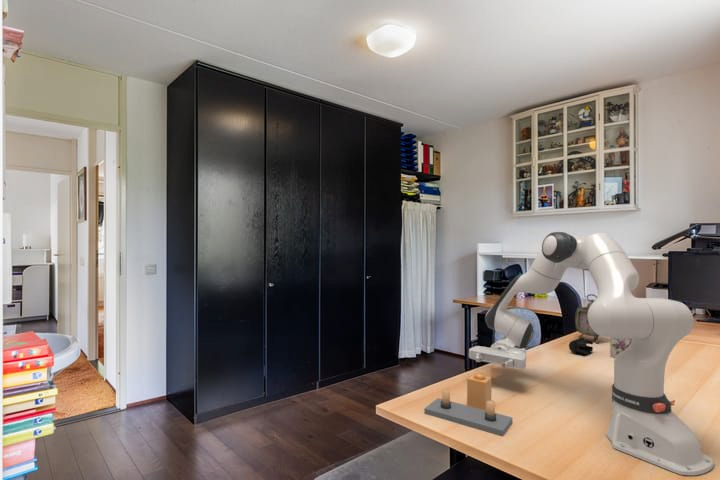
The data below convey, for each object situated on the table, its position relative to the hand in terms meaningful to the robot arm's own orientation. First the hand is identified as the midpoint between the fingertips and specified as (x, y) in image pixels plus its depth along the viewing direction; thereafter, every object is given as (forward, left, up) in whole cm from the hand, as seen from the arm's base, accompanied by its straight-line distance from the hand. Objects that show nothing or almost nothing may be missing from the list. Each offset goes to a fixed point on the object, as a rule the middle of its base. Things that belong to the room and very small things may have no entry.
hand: (490, 362), depth 139 cm
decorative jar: (+5, -88, -11) cm, 89 cm away
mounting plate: (-12, +20, -11) cm, 26 cm away
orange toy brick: (-6, +11, -11) cm, 17 cm away
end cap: (+20, -75, -11) cm, 78 cm away
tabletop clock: (+33, -102, -11) cm, 108 cm away
